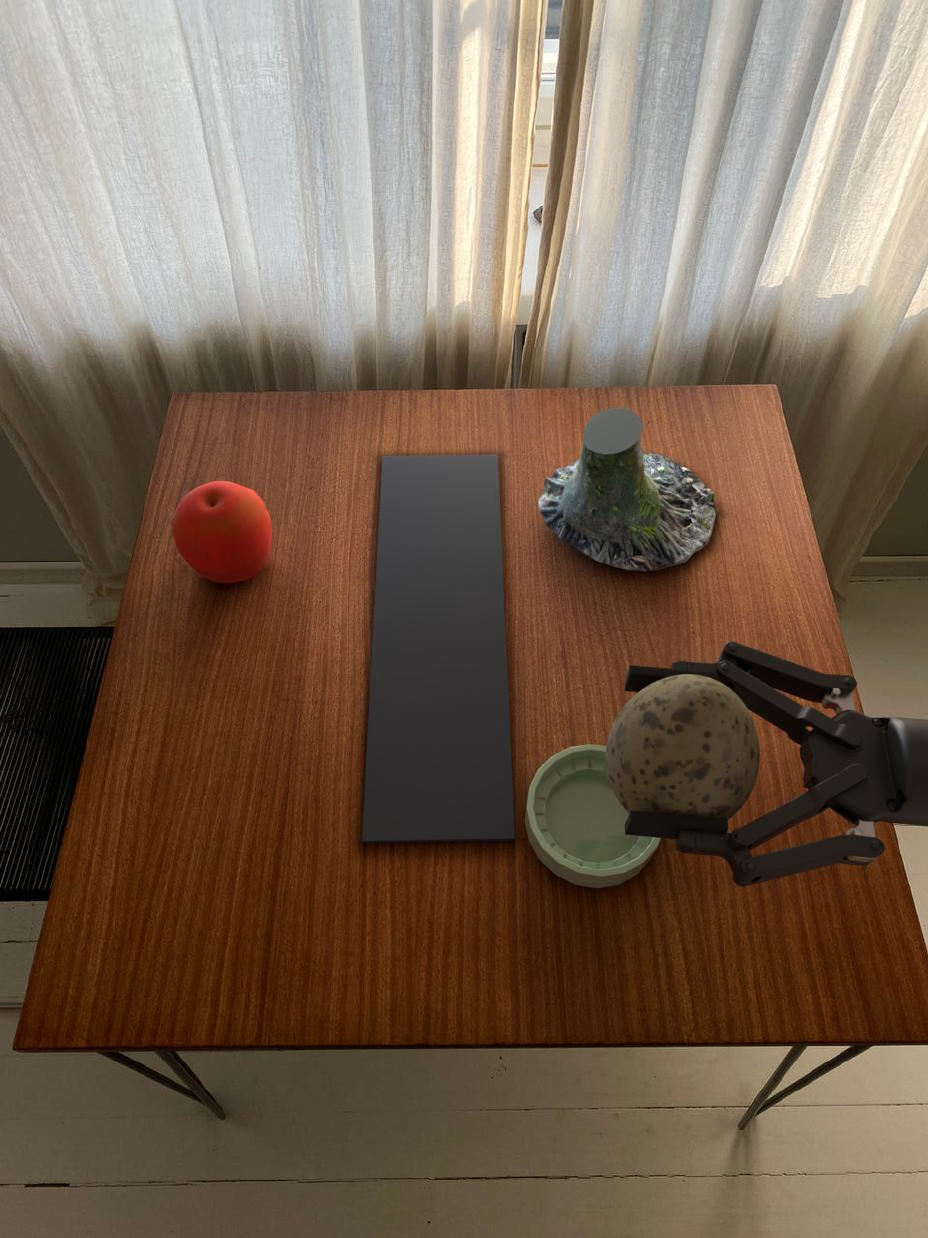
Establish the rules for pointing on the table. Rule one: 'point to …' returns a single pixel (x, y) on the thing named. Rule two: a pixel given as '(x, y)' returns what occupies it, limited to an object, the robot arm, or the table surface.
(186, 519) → the apple
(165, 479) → the table surface
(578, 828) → the bowl
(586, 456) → the tree stump
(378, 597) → the mat
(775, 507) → the table surface
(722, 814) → the decorative egg
